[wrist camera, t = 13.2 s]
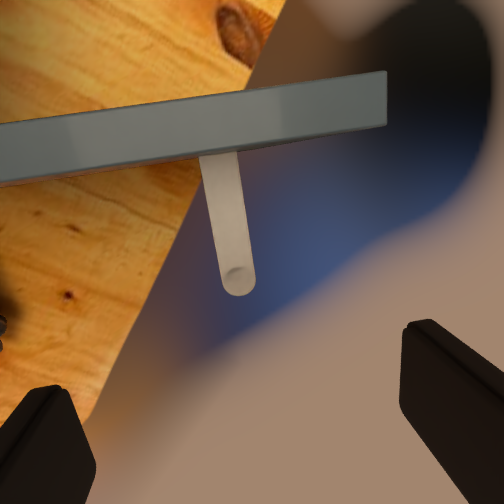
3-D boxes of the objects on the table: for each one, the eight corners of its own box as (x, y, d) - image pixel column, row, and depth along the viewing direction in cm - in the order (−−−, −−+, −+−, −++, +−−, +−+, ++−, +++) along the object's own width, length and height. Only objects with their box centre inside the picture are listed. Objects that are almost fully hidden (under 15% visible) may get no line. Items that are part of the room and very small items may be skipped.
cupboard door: (263, 217, 31) (387, 384, 8) (21, 256, 29) (-633, 591, 7) (252, 138, 28) (388, 69, 6) (-12, 177, 27) (-1198, 288, 4)
